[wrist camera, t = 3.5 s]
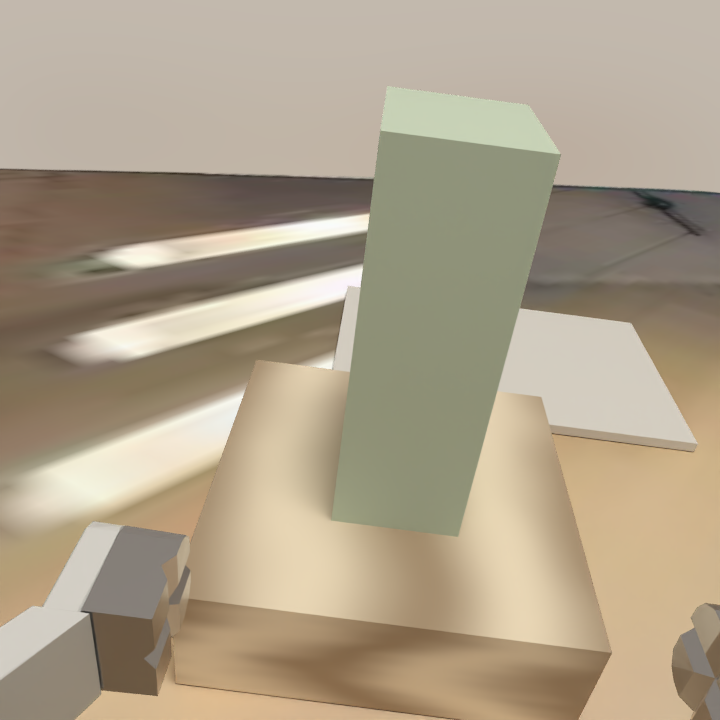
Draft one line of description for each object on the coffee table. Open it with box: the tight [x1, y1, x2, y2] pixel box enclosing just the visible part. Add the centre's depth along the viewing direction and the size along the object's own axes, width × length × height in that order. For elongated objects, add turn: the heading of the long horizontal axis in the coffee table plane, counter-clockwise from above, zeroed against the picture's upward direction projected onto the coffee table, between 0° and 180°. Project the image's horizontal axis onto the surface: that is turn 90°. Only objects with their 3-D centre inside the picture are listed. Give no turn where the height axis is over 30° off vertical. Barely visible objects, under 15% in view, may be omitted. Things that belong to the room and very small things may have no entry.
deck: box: [173, 360, 612, 720], centre depth 25 cm, size 12×12×4 cm
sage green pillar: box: [331, 87, 561, 537], centre depth 20 cm, size 4×5×12 cm
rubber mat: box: [333, 286, 698, 452], centre depth 38 cm, size 18×12×1 cm, turn 86°
